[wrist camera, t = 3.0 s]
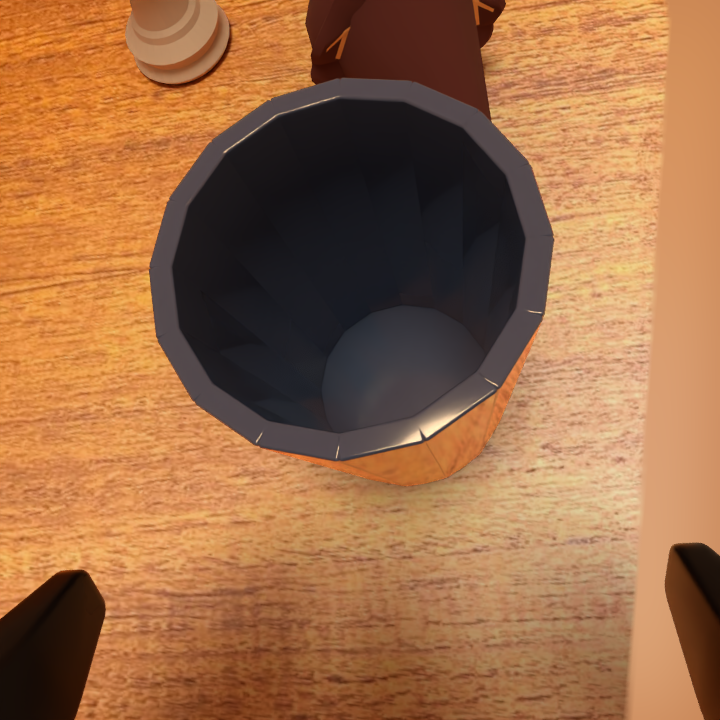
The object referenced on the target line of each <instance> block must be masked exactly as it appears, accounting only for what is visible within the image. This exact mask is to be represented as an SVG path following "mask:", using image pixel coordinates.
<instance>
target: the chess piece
mask: <svg viewBox="0 0 720 720" xmlns="http://www.w3.org/2000/svg"><path fill="white" fill-rule="evenodd" d="M130 3H131V7H132V11H131V15H130V17H129V19H128V22H127V25H126V33H125V36H126V43H127V45H128V48H129V50H130V51H131V52H132V54H133V55H134V59H135V61H136V64H137V66H138V68H139V69H140V70H141V72H142V73H143V74H144V75H146V76H147V77H148V78H150V79H152V80H155V81H157V82H162V83H167V84H182V83H187V82H190V81H193V80H196V79H198V78H200V77H201V76H203V75H205V74H206V73H207V72H209V71H210V70H211V69H212V68H213V67H214V66H215V65H216V64H217V63H218V61H219V60H220V59H221V57H222V55H223V53H224V51H225V49H226V46H227V42H228V38H229V22H228V18H227V16H226V14H225V12H224V11H223V10H222V9H221V7H220V6H219V5H217V4H216V2H215V0H130Z"/></svg>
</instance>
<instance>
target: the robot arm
mask: <svg viewBox="0 0 720 720" xmlns="http://www.w3.org/2000/svg"><path fill="white" fill-rule="evenodd" d="M665 592H666V597H667V601H668V604H669V607H670V611H671V614H672V617H673V621H674V624H675V627H676V630H677V634H678V637H679V641H680V644H681V647H682V650H683V653H684V657H685V660H686V664H687V667H688V670H689V673H690V677H691V680H692V684H693V687H694V690H695V693H696V697H697V699H698V703H699V706H700V709H701V712H702V714H703V717H704V719H705V720H720V556H719V555H718V554H717V553H716V552H715V551H713V550H712V549H711V548H710V547H708V546H707V545H705V544H702V543H678V544H674V545H673V546H672V547H671V549H670V552H669V559H668V564H667V571H666V578H665ZM105 611H106V608H105V601H104V599H103V597H102V595H101V594H100V592H99V590H98V589H97V587H96V585H95V584H94V582H93V580H92V578H91V577H90V575H89V574H88V573H87V572H86V571H84V570H65V571H60V572H58V573H56V574H55V575H54V576H52V577H51V578H50V579H49V580H47V581H46V582H45V583H44V584H43V585H41V586H40V587H39V588H38V589H36V590H35V591H34V592H33V593H32V594H30V595H29V596H28V597H27V598H25V599H24V600H23V601H22V602H21V603H19V604H18V605H17V606H16V607H14V608H13V609H12V610H11V611H10V612H8V613H7V614H6V615H5V616H4V617H2V618H1V619H0V720H74V719H75V717H76V714H77V711H78V708H79V704H80V701H81V698H82V695H83V691H84V688H85V684H86V681H87V677H88V674H89V670H90V667H91V663H92V660H93V656H94V653H95V649H96V646H97V642H98V639H99V635H100V632H101V628H102V625H103V621H104V618H105Z"/></svg>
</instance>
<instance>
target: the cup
mask: <svg viewBox="0 0 720 720" xmlns="http://www.w3.org/2000/svg"><path fill="white" fill-rule="evenodd" d="M553 244H554V238H553V230H552V227H551V224H550V221H549V218H548V215H547V212H546V209H545V206H544V203H543V200H542V197H541V194H540V191H539V188H538V185H537V182H536V179H535V176H534V173H533V170H532V167H531V165H530V164H529V162H528V161H527V159H526V158H525V157H524V156H523V155H522V154H521V153H520V152H519V151H518V150H517V149H516V148H515V147H514V146H513V145H512V144H511V142H510V141H509V140H508V139H507V138H506V137H505V136H504V135H503V134H502V133H501V132H500V131H499V130H498V129H497V128H496V127H495V126H494V124H493V123H492V122H491V121H490V120H489V119H488V118H487V117H486V116H485V115H484V114H483V113H482V112H481V111H479V110H478V109H477V108H475V107H472V106H470V105H468V104H465V103H463V102H461V101H459V100H456V99H454V98H452V97H449V96H447V95H445V94H442V93H440V92H438V91H435V90H433V89H431V88H429V87H426V86H424V85H422V84H419V83H417V82H413V83H412V81H408V80H384V79H360V78H341V79H338V78H337V79H334V80H330V81H327V82H324V83H321V84H317V85H314V86H311V87H307V88H304V89H301V90H297V91H294V92H291V93H288V94H284V95H281V96H278V97H274V98H272V99H271V101H270V100H268V101H266V102H265V103H263V104H262V105H261V106H259V107H258V108H256V109H255V110H253V111H252V112H251V113H249V114H248V115H246V116H245V117H244V118H242V119H241V120H239V121H238V122H237V123H235V124H234V125H232V126H231V127H230V128H228V129H227V130H225V131H224V132H222V133H221V134H220V135H218V136H217V137H215V138H214V139H213V140H212V142H210V143H209V144H208V145H207V146H206V148H205V149H204V150H203V152H202V153H201V155H200V156H199V157H198V159H197V160H196V162H195V163H194V164H193V166H192V167H191V168H190V170H189V171H188V173H187V174H186V175H185V177H184V178H183V180H182V181H181V182H180V184H179V185H178V186H177V188H176V189H175V191H174V192H173V193H172V195H171V196H170V198H169V201H168V202H167V205H166V209H165V212H164V216H163V219H162V223H161V226H160V230H159V233H158V237H157V241H156V244H155V248H154V251H153V255H152V258H151V262H150V269H149V275H150V284H151V293H152V302H153V311H154V320H155V329H156V337H157V338H158V343H159V344H160V346H161V348H162V349H163V351H164V353H165V354H166V356H167V358H168V360H169V361H170V363H171V365H172V366H173V368H174V370H175V372H176V373H177V375H178V377H179V378H180V380H181V382H182V384H183V385H184V387H185V389H186V390H187V392H188V394H189V396H190V397H191V399H192V400H193V401H194V402H195V403H196V405H197V406H199V407H200V408H202V409H203V410H205V411H206V412H207V413H209V414H210V415H212V416H213V417H215V418H216V419H218V420H219V421H220V422H222V423H223V424H225V425H226V426H228V427H229V428H230V429H232V430H233V431H235V432H236V433H238V434H239V435H241V436H242V437H243V438H245V439H246V440H248V441H249V442H251V443H252V444H253V445H255V446H259V447H260V448H263V449H266V450H270V451H273V452H277V453H280V454H284V455H287V456H290V457H294V458H297V459H301V460H304V461H308V462H311V463H314V464H318V465H321V466H325V467H328V468H332V469H335V470H338V471H342V472H345V473H349V474H352V475H355V476H359V477H362V478H366V479H369V480H374V481H379V482H385V483H389V484H395V485H400V486H413V485H419V484H426V483H430V482H434V481H437V480H441V479H445V478H446V477H449V476H450V475H452V474H454V473H455V472H457V471H458V470H460V469H462V468H463V467H465V466H466V465H467V464H468V463H469V462H471V461H472V460H473V459H474V458H476V457H477V456H478V455H479V454H480V453H481V452H482V450H483V449H484V447H485V445H486V444H487V442H488V441H489V439H490V437H491V436H492V434H493V432H494V430H495V429H496V427H497V426H498V424H499V422H500V420H501V418H502V415H503V413H504V411H505V408H506V406H507V403H508V401H509V399H510V396H511V394H512V391H513V389H514V387H515V384H516V382H517V380H518V377H519V375H520V372H521V370H522V368H523V365H524V363H525V361H526V358H527V356H528V353H529V351H530V349H531V346H532V344H533V341H534V339H535V337H536V334H537V332H538V330H539V327H540V325H541V322H542V320H543V317H544V314H545V307H546V299H547V291H548V284H549V276H550V268H551V260H552V252H553Z"/></svg>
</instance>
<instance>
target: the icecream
mask: <svg viewBox="0 0 720 720" xmlns="http://www.w3.org/2000/svg"><path fill="white" fill-rule="evenodd" d="M505 5H506V3H505V0H310V1H309V5H308V11H307V17H306V22H305V24H306V27H307V31H308V35H309V38H310V42H311V45H312V53H311V60H312V69H311V78H312V81H313V82H314V83H315V84H316V85H317V84H321V83H324V82H327V81H330V80H334V79H337V78H338V79H341V78H360V79H384V80H408V81H412V83H413V82H417V83H419V84H422V85H424V86H426V87H429V88H431V89H433V90H435V91H438V92H440V93H442V94H445V95H447V96H449V97H452V98H454V99H456V100H459V101H461V102H463V103H465V104H468V105H470V106H472V107H475V108H477V109H478V110H479V111H481V112H482V113H483V114H484V115H485V116H486V117H487V118H488V119H489V120H490V121H491V116H490V110H489V103H488V97H487V90H486V84H485V77H484V71H483V64H482V58H481V51H480V48H481V47H483V46H484V45H485V44H486V42H487V41H488V40H489V39H490V37H491V35H492V32H493V23H494V22H495V21H496V19H497V18H498V17H499V16H500V14H501V13H502V11H503V10H504V7H505Z"/></svg>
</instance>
